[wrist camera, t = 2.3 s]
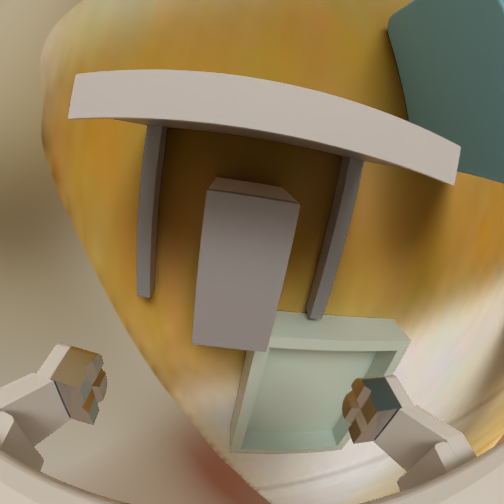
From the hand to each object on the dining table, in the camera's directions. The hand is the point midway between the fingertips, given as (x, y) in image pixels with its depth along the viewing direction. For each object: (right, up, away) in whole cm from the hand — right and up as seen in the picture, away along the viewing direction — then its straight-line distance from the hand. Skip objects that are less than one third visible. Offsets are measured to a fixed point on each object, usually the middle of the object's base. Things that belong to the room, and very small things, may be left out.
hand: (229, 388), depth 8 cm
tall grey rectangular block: (0, +5, +12) cm, 13 cm away
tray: (+6, -9, +18) cm, 21 cm away
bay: (0, +7, +12) cm, 13 cm away
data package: (+14, +17, +9) cm, 24 cm away
